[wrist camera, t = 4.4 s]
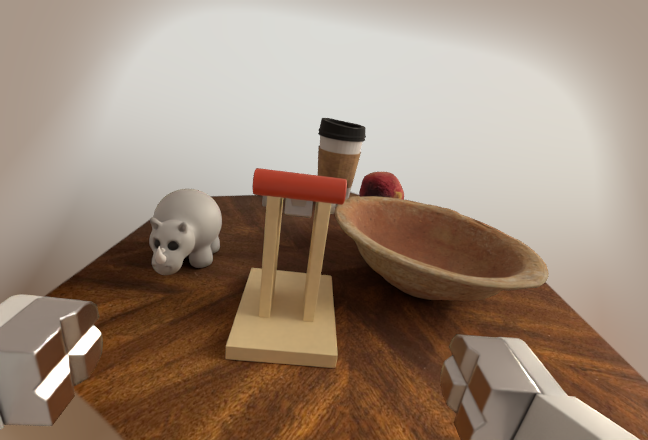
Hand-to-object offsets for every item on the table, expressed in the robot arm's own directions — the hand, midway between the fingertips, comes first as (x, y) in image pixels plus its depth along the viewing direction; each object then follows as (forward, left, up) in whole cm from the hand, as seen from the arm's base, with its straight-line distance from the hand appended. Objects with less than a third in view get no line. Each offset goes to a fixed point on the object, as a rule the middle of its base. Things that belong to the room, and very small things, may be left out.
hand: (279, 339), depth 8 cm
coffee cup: (+6, +56, -16) cm, 59 cm away
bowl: (+16, +30, -16) cm, 38 cm away
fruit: (+14, +51, -16) cm, 55 cm away
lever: (0, +16, -3) cm, 17 cm away
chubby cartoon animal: (-12, +28, -16) cm, 34 cm away
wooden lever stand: (0, +21, -16) cm, 27 cm away
